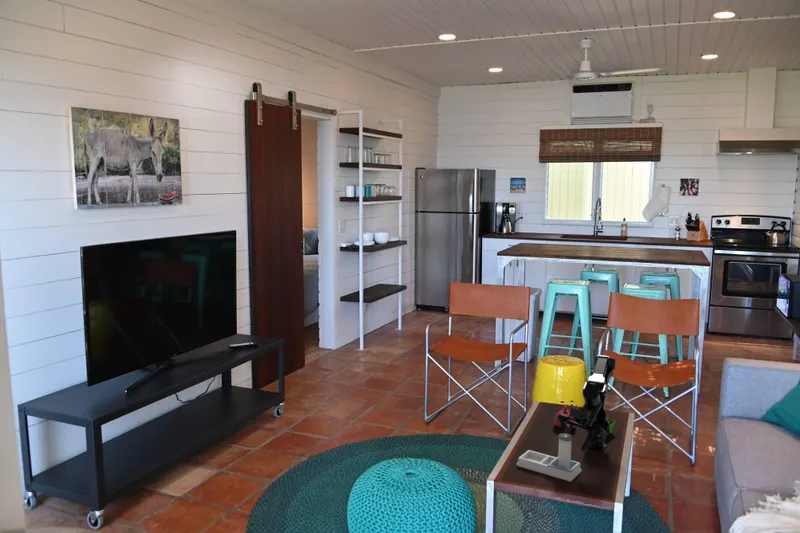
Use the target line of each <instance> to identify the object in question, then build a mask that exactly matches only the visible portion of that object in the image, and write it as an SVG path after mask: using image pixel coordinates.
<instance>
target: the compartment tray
mask: <svg viewBox="0 0 800 533" xmlns="http://www.w3.org/2000/svg"><path fill="white" fill-rule="evenodd" d="M516 466H517V467H520V468H524V469H527V470H530V471H534V472H537V473H540V474H544V475H547V476H551V477H553V478H557V479H561V480H564V481H567V482H572V481H573V480H575V478H576V477H577V476H578V475H579V474H581V473H582V468H581V462H579V461H576V460H572V459H571V463H570V470H568V469H564V468H561V467H558V456H552V455H549V454H545V453H541V452H538V451H534V450H531V449H528V450H526V451H525V452H524V453H522V454H521V455H520V456H519V457H518V458H517V462H516Z"/></svg>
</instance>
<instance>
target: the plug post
mask: <svg viewBox="0 0 800 533" xmlns="http://www.w3.org/2000/svg"><path fill="white" fill-rule="evenodd" d="M572 441H573V436H572V434H570V433H569V434H565V433H563V434H561V433H559V434H558V454H557V457H558V467H561V468H564V469H568V470H570V463H571V460H572Z"/></svg>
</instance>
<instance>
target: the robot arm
mask: <svg viewBox="0 0 800 533" xmlns="http://www.w3.org/2000/svg"><path fill="white" fill-rule="evenodd" d="M593 367H594V370H593V373H592V375H590V376H589V377H588V378H587V381H585V383H584V385H583V388H582V397H583V401H584V404H583V406H581V407H579V408H578V409H577V408H573V407H570V408H569V409H570V410H569V411H570V413H569V416H573V419H574V420H575V421H573V420H571V418H570V417H569V416H567V415H564V414H559V415H558V417H557V420H558V421H559V423H560V424H561V428H560V434H563V433H565V434H570V433H571V431H572V429H570V428H572V426H574V427H575V428H577V429H579V430H583V431H585V433H587V436H586V438H585V440H584V442H583V444H582V446H581V449H580V451H581V452H584V451H586V450H587V449H588V448H589V449H592V450H596V451H600V452H601V451H603V450H604V449H605V448H607V446H608V444H606V443H605V441H606V439H607V438H608V435H610V434H611V433H610V424H609V422H608V420H607V419H608V415H607V412H606V410H605V407H606V400H607V394H608V390H609V388H608V386H609V380H610V378H612V377H613V376H614V373H615V370H616V369H617V359H615V358H614V357H610V356H609V355H604V354H597V355H596V356H594V359H593ZM607 434H608V435H607Z"/></svg>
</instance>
